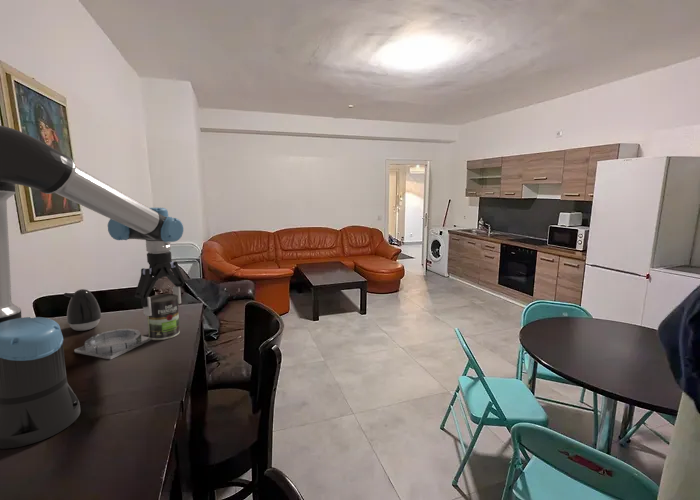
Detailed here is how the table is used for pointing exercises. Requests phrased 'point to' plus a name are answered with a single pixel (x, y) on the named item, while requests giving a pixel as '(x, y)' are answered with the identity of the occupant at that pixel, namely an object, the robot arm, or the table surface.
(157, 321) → the coffee can
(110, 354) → the duct collar
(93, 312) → the pump dispenser
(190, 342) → the table surface
